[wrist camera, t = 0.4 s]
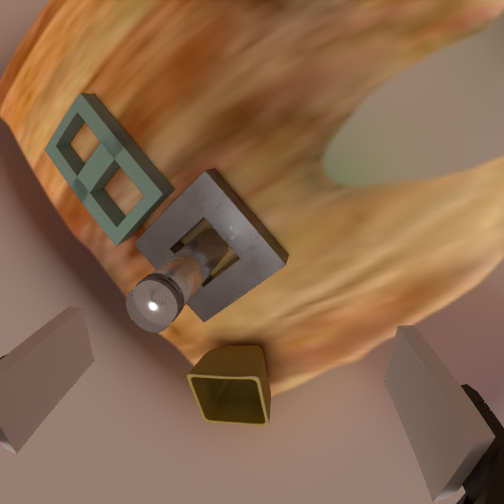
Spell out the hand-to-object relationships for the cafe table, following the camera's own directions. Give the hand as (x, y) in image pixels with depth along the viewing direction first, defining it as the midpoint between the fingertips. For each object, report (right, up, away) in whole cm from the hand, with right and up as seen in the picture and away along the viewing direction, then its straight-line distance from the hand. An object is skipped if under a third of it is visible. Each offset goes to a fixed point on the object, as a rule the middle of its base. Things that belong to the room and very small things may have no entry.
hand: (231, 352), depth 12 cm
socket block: (-4, +5, +26) cm, 27 cm away
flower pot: (0, -11, +32) cm, 33 cm away
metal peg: (-4, +5, +26) cm, 27 cm away
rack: (-18, +15, +26) cm, 35 cm away
